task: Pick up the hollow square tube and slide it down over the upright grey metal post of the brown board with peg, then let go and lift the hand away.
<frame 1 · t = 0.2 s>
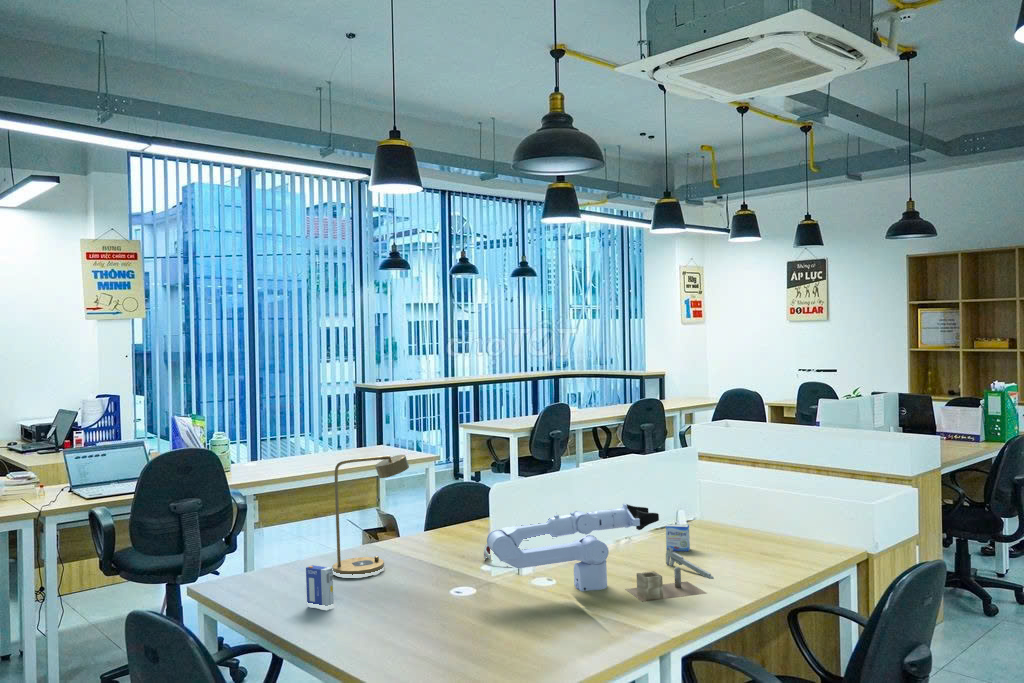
hand: (653, 514, 234), 21 cm above the table, tool horizontal, fingers open, 7 cm apart
hollow square tube: (650, 596, 218), point 1 cm above the table, touching brown board with peg
medicine box: (678, 550, 272), on the table
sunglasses: (508, 560, 268), on the table
caliper: (689, 572, 246), on the table
brown board with peg: (665, 596, 222), on the table
lamp: (373, 570, 261), on the table
walkman: (320, 608, 223), on the table
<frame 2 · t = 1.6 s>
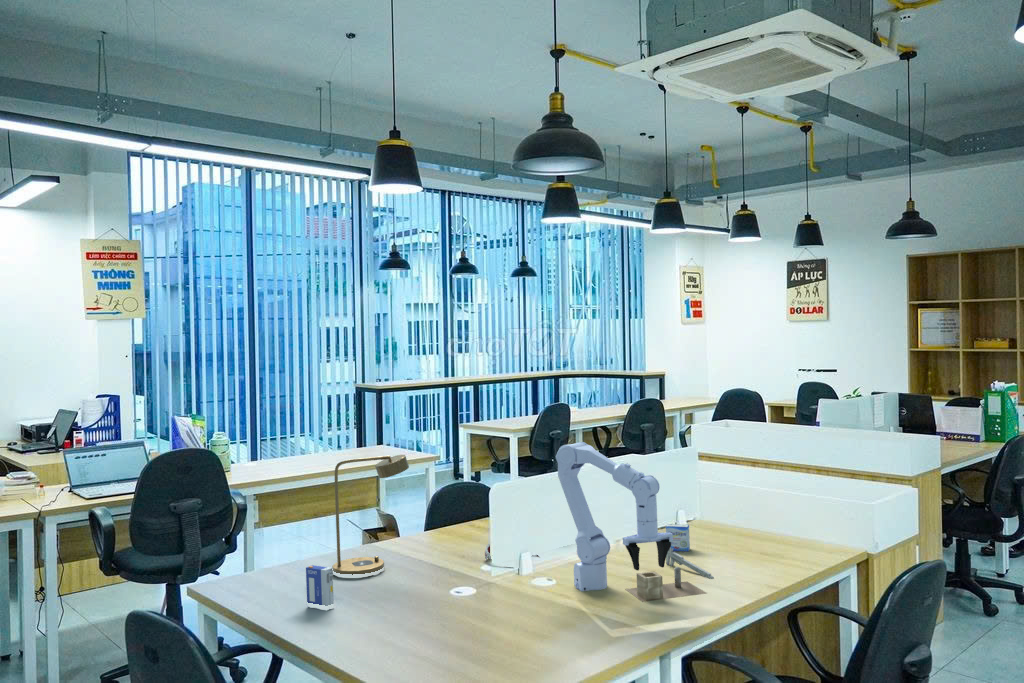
hand: (649, 568, 218), 9 cm above the table, tool pointing down, fingers open, 7 cm apart
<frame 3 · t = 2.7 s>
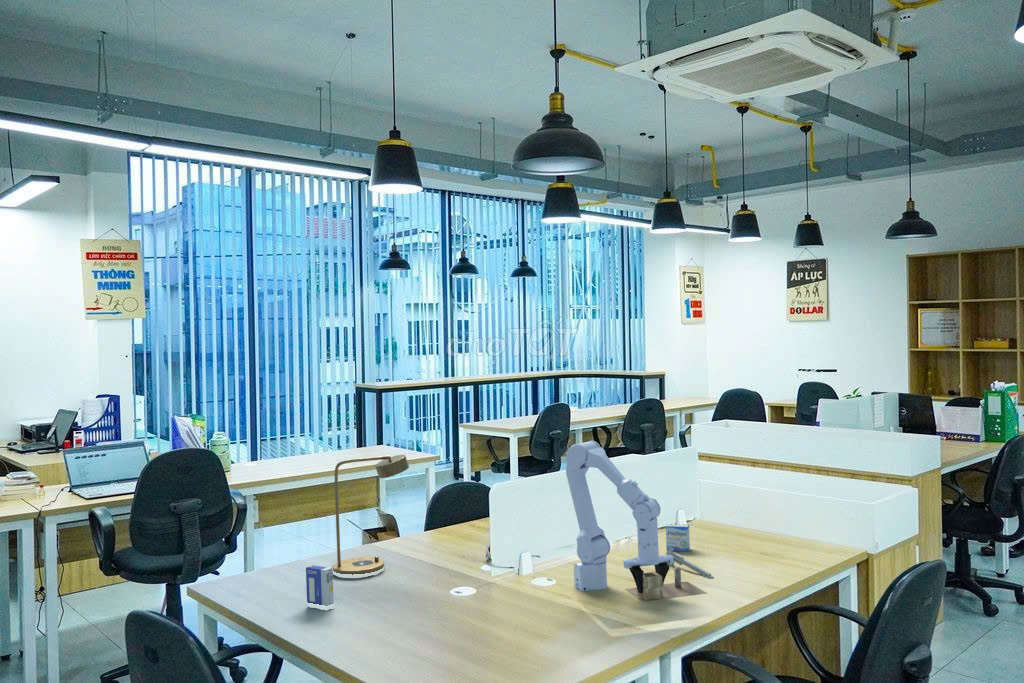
hand: (649, 591, 218), 3 cm above the table, tool pointing down, fingers closed on hollow square tube, 5 cm apart
hollow square tube: (650, 596, 218), point 1 cm above the table, touching gripper, brown board with peg
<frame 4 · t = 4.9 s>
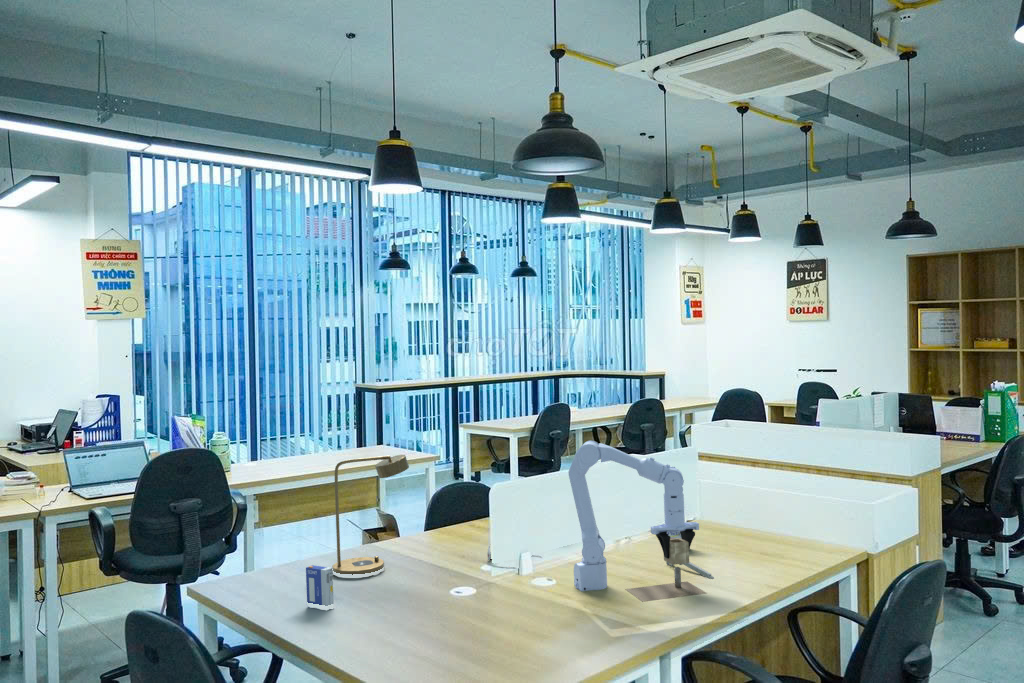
hand: (676, 556, 225), 10 cm above the table, tool pointing down, fingers closed on hollow square tube, 5 cm apart
hollow square tube: (676, 561, 225), point 9 cm above the table, touching gripper
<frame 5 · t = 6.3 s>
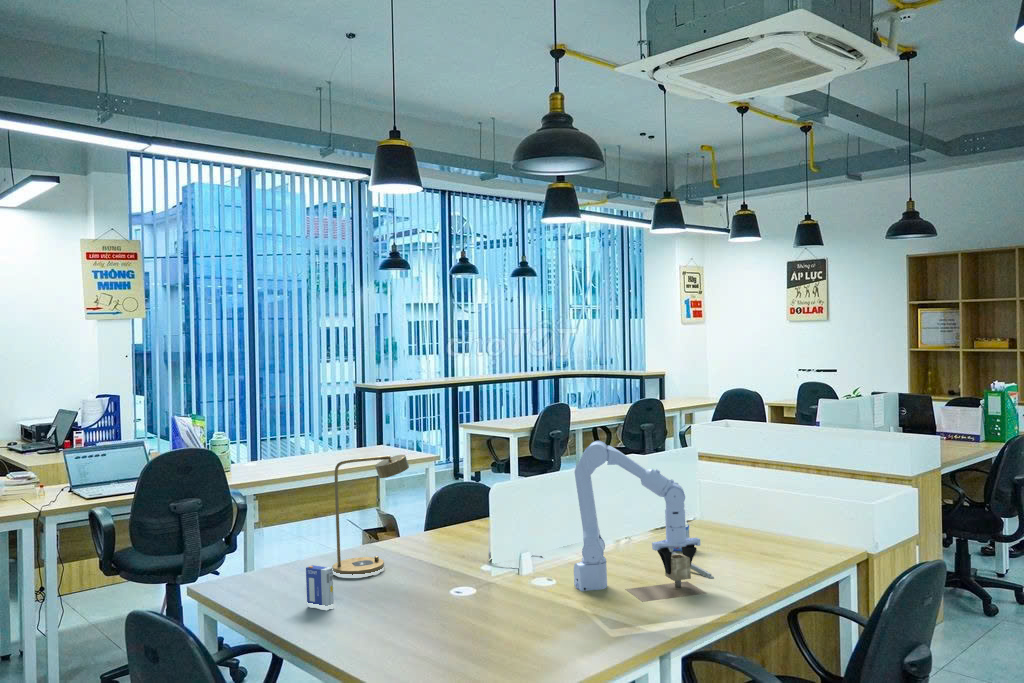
hand: (677, 572, 225), 6 cm above the table, tool pointing down, fingers closed on hollow square tube, 5 cm apart
hollow square tube: (677, 577, 225), point 4 cm above the table, touching gripper
when the fingers open (4 cm above the table, at t = 7.3 s): hollow square tube stays where it is, resting on brown board with peg.
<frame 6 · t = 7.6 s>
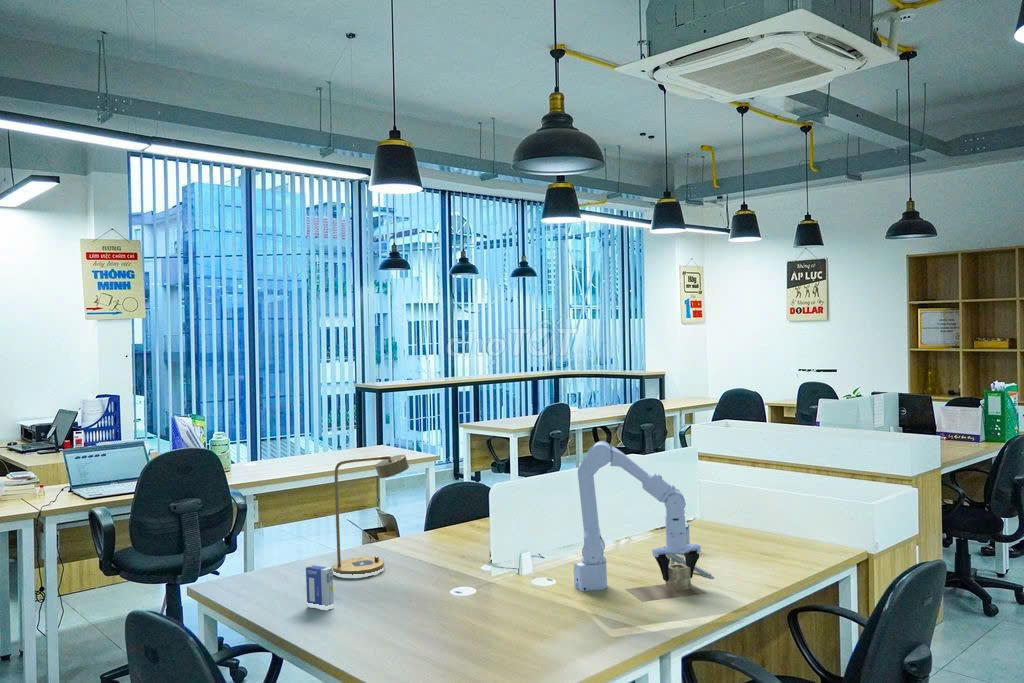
hand: (677, 578, 225), 4 cm above the table, tool pointing down, fingers open, 7 cm apart
hollow square tube: (678, 587, 225), point 1 cm above the table, touching brown board with peg
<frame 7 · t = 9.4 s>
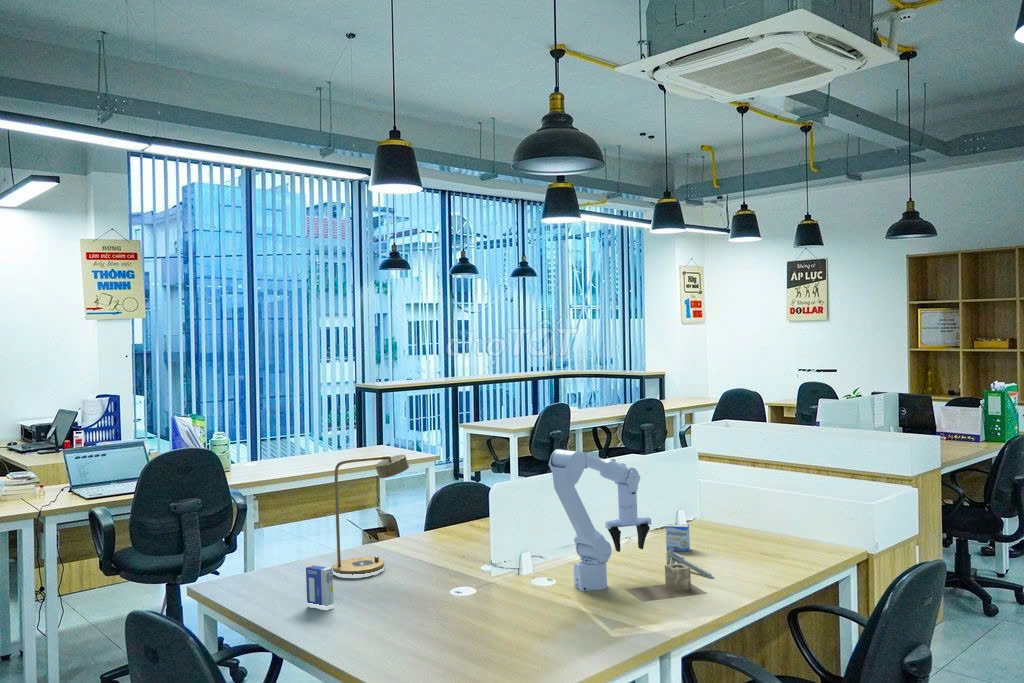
hand: (629, 549, 239), 9 cm above the table, tool pointing down, fingers open, 7 cm apart
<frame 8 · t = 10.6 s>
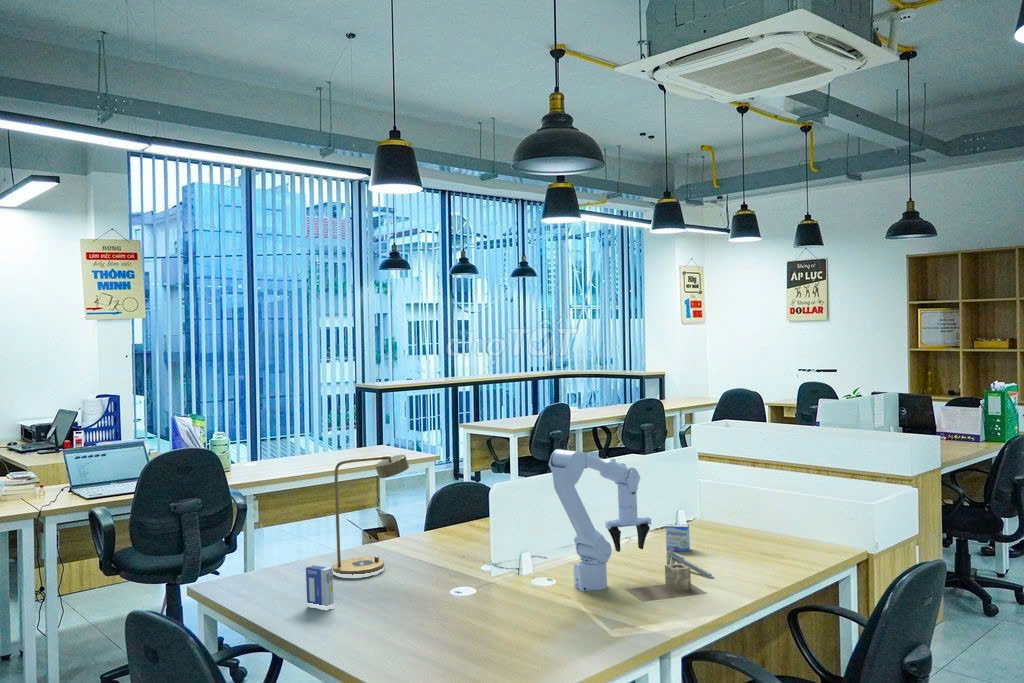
hand: (629, 549, 239), 9 cm above the table, tool pointing down, fingers open, 7 cm apart
at the end: hollow square tube 0.1 cm from the target spot on the brown board with peg, point 1.5 cm above the brown board with peg's base; hollow square tube tilted 0°; the gripper is holding nothing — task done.
